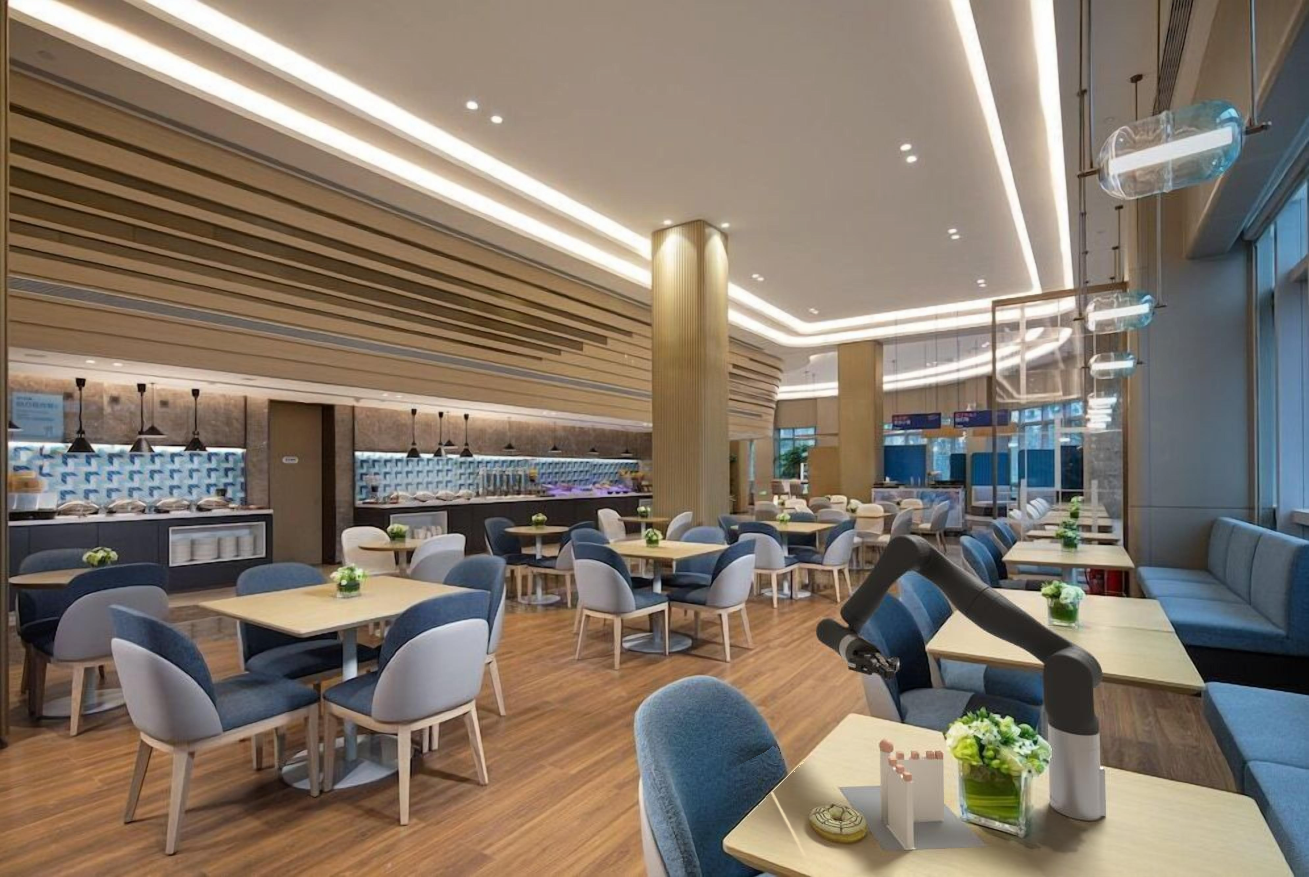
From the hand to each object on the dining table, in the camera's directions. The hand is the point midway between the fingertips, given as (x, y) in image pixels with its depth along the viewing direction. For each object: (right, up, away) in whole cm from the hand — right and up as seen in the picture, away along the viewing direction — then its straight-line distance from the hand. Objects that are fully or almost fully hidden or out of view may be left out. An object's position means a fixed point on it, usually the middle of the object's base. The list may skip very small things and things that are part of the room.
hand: (890, 675), depth 144 cm
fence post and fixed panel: (-5, -25, -17) cm, 30 cm away
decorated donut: (-16, -26, -15) cm, 34 cm away
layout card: (0, -26, -10) cm, 28 cm away
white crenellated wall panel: (+1, -25, -12) cm, 27 cm away
